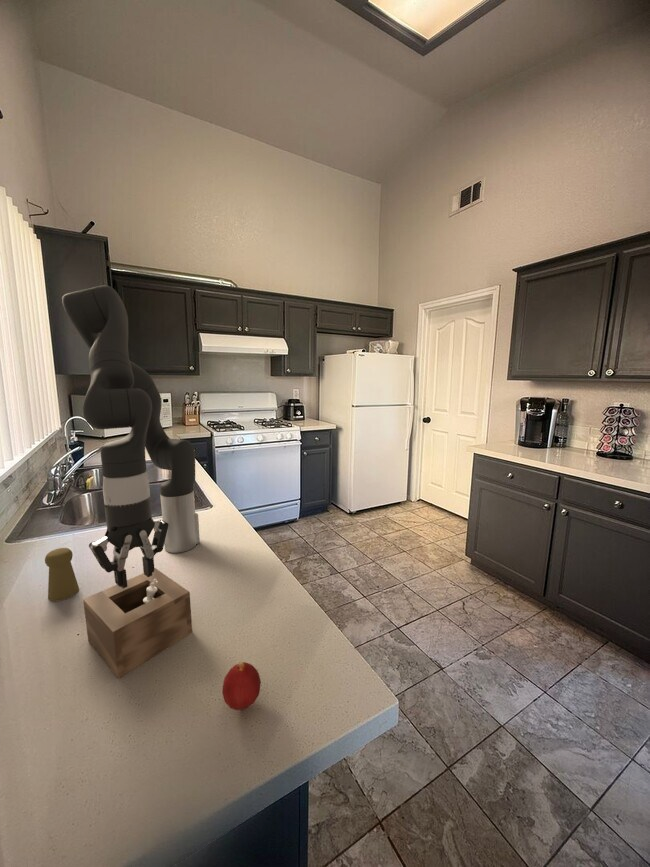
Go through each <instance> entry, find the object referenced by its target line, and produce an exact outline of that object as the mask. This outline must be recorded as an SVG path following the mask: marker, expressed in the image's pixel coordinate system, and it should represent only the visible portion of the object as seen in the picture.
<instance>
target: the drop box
mask: <svg viewBox="0 0 650 867" xmlns="http://www.w3.org/2000/svg"><path fill="white" fill-rule="evenodd" d="M153 579H156V580H157V581H158V583H157V584H155V587H157V592H156V593H155V594H154V596H153V598H154V599H153V600H151V601H149V602H147V603H144V602H143V599H144V598H145V597H147V591H146V589H147V587H149V586H150V583H152V582H153ZM190 593H191V592H190V591H189V590H188V589H186V588H184V587H183V586H182V585H180V584H179V583H178V582H176V581H174V579H172V578H170V577H169V576H167V575H166V574H164V573H163V572H162V571H160V570H159V569H157V568H155V567H154V572H152V576H150V577H147V576H146V575H144V572H143V573H141V574H138V575H136V576H135V577H134V576H133V577H131V578H129V579H127V587H125V588H122V587H119V586H118V585H117V584H115V585H113V586H111V587H108V588H106V589H104V590H102V591H99V592H97V593H94V594H92V595H90V596H88V597H87V596H86V597H85V598H83V599H82V603H83V610H84V616H85V617H84V618H85V626H86V634H87V642H88V643H90V645H91V646H92V647H93V649H94V650H95V651H96V652H97V654H98V655H99V656H100V658H101V659H102V660H103V661H104V663H105V664H106V665H107V666H108V667H109V669H110V668H111V669H110V670H111V671H112V672H113V674H114V675H115V677H118V679H119V678H121V677H123V676H124V675H126V674H128V673H129V672H132V671H133V670H134V669H136V668H137V667H139V666H141V665H142V664H143V663H146V662H147V661H149V660H150V659H151V658H153V657H155V656H156V655H158V654H160V653H162V652H163V651H164V650H166V649H169V647H171V646H173V645H174V644H176V643H177V642H179V641H180V640H182V639H184V638H185V637H187V636H189V635H190V634H192V633H193V621H192V608H191V606H192V605H191V595H190Z"/></svg>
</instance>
